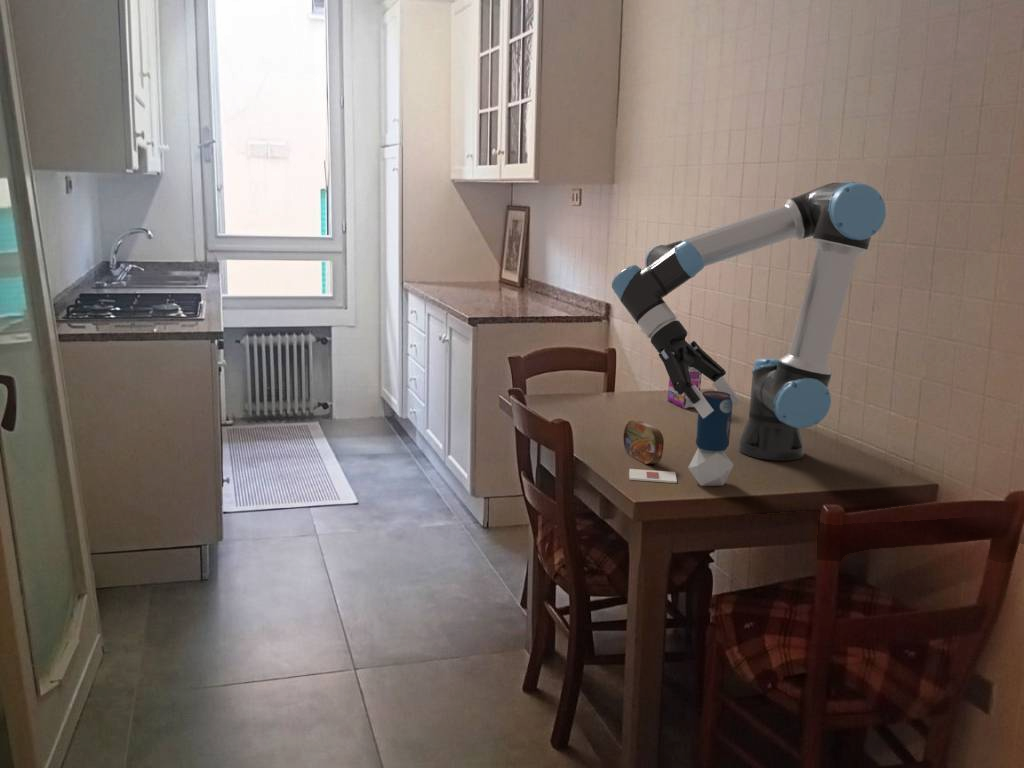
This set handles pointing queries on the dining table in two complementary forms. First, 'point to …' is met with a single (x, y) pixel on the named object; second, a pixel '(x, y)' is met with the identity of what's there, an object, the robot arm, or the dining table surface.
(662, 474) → the card
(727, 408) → the soda can
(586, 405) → the dining table surface
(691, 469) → the die
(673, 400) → the candy bar box
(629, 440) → the tin
